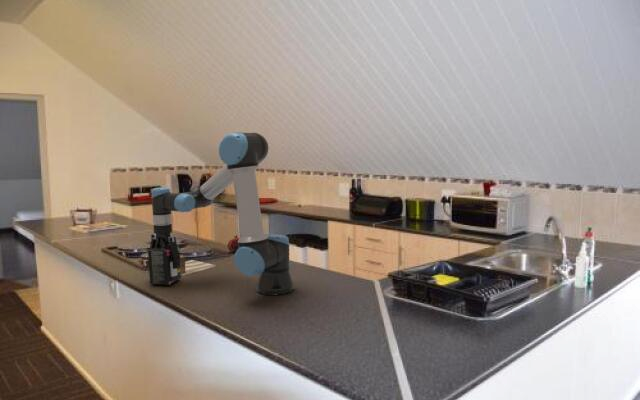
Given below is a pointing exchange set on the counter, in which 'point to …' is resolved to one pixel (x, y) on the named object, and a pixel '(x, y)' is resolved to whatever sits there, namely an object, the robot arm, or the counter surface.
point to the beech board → (193, 266)
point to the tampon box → (161, 266)
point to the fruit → (233, 244)
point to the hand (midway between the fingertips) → (165, 273)
